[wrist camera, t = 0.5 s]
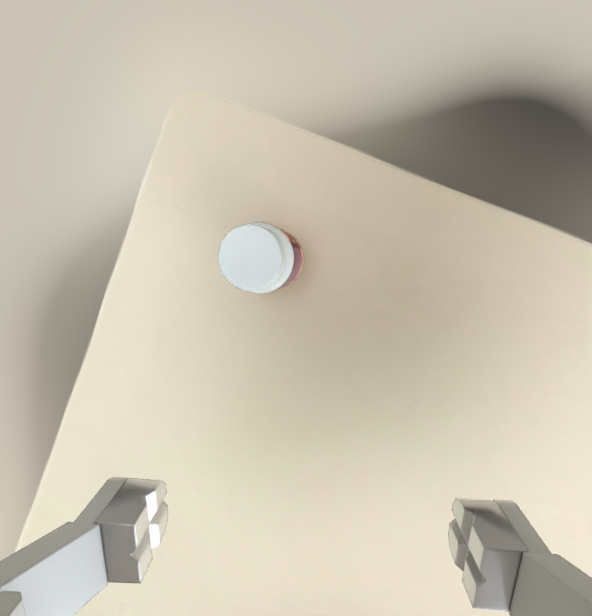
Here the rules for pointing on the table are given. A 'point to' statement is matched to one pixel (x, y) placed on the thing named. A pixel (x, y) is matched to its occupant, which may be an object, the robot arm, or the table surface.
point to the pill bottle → (260, 257)
